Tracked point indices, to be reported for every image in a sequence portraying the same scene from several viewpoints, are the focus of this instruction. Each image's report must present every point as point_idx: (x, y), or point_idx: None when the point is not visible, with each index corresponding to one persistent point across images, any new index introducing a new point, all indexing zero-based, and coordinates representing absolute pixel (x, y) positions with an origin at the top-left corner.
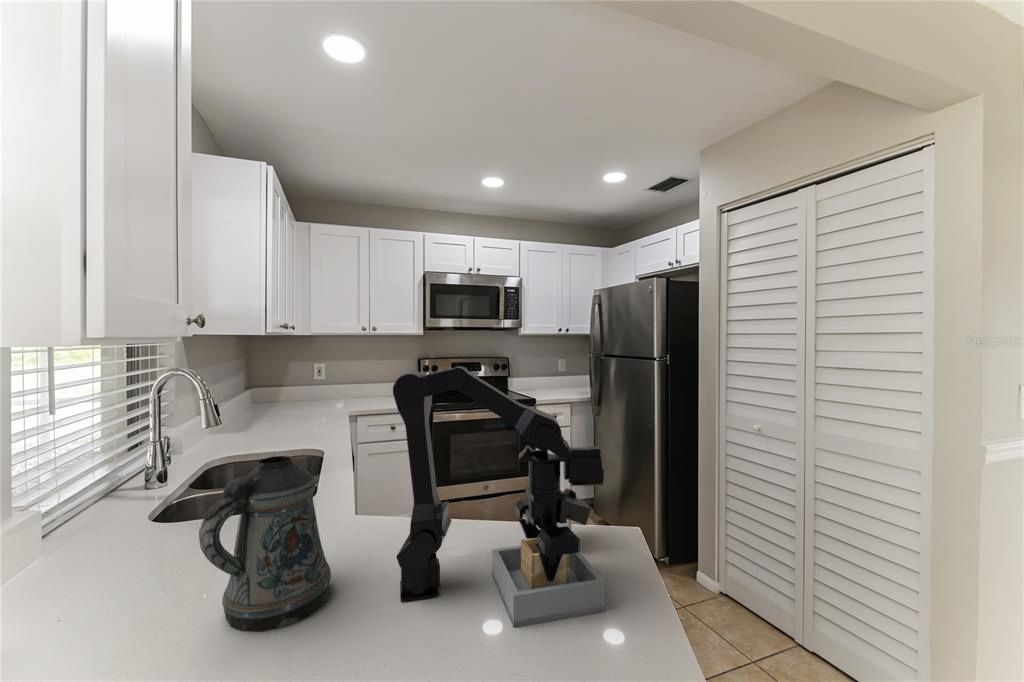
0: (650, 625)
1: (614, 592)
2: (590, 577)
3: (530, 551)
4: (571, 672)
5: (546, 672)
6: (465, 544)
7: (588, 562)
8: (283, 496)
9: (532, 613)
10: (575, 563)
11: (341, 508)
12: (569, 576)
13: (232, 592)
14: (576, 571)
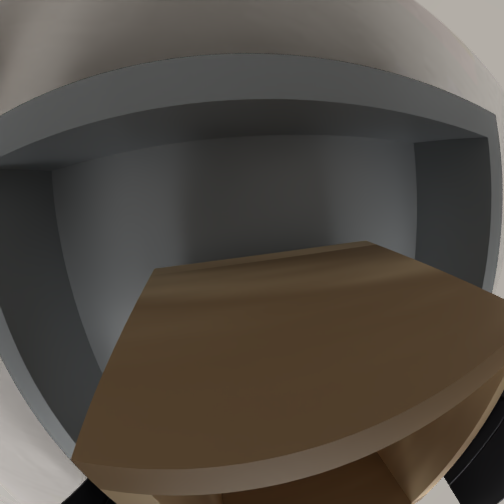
0: (449, 60)
1: (311, 30)
2: (418, 127)
3: None
4: (494, 290)
5: None
6: (10, 442)
7: (348, 63)
8: None
9: None
10: (172, 128)
11: (9, 500)
12: (190, 182)
13: None
14: (194, 135)
